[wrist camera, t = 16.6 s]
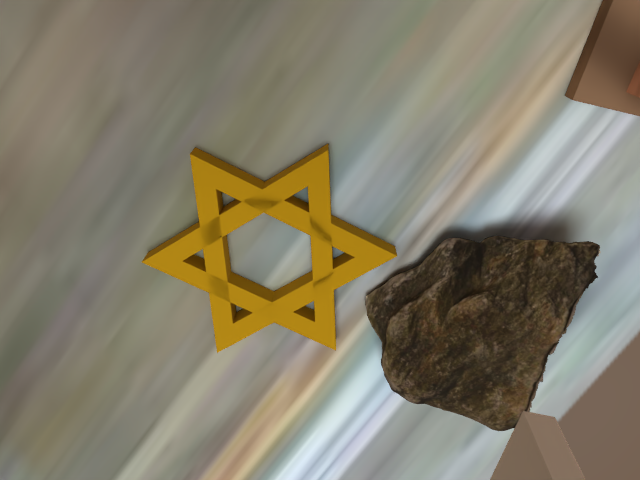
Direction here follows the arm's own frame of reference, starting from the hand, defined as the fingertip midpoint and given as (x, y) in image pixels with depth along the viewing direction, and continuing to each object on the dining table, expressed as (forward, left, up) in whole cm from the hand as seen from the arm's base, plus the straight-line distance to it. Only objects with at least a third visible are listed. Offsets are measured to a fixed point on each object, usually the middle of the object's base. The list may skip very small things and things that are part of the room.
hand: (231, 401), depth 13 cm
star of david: (+12, 0, -32) cm, 34 cm away
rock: (+13, +16, -32) cm, 38 cm away
